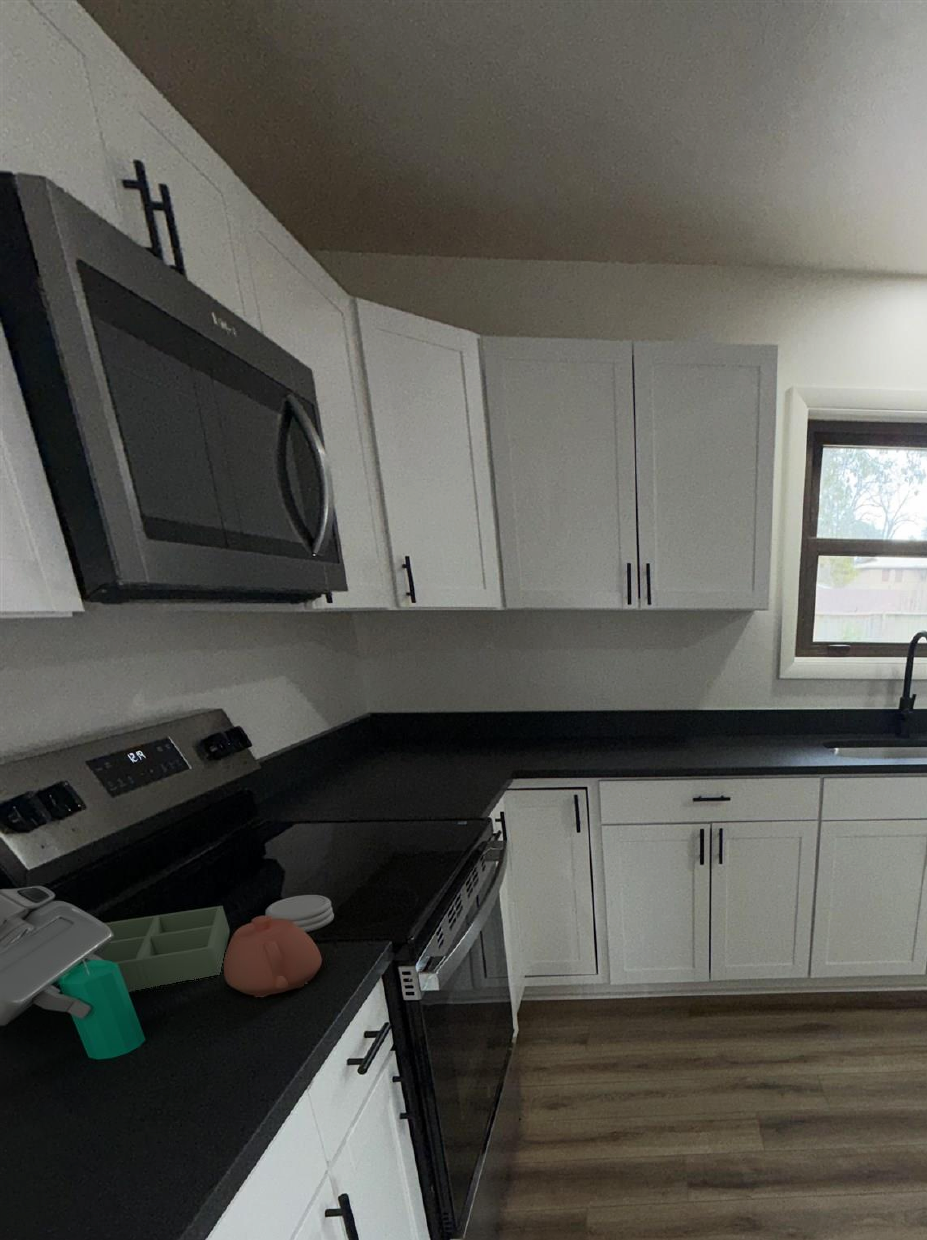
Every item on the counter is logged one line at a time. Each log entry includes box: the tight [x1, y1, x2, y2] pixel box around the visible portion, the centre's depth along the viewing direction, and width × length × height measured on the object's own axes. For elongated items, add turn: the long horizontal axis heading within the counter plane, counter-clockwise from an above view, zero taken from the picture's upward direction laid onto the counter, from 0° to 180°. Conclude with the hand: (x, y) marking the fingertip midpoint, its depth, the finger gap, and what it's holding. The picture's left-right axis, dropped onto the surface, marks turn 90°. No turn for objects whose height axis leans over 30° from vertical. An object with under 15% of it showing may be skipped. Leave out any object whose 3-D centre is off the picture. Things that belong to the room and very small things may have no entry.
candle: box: [57, 959, 146, 1060], centre depth 90 cm, size 6×6×12 cm
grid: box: [98, 905, 231, 993], centre depth 113 cm, size 18×18×5 cm
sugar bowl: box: [223, 914, 323, 998], centre depth 105 cm, size 12×14×10 cm
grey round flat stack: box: [265, 894, 335, 933], centre depth 127 cm, size 10×10×4 cm
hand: (104, 999), depth 90 cm, fingers closed on candle, 5 cm apart
